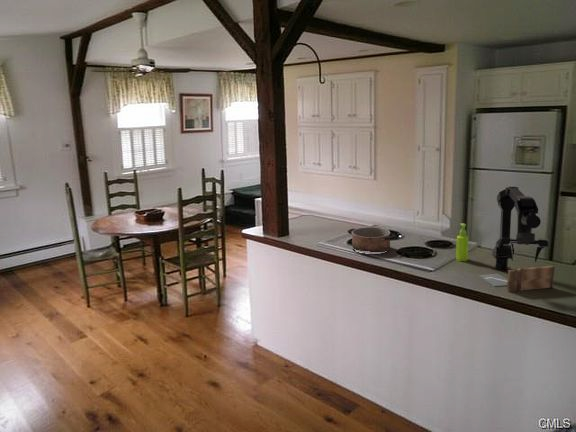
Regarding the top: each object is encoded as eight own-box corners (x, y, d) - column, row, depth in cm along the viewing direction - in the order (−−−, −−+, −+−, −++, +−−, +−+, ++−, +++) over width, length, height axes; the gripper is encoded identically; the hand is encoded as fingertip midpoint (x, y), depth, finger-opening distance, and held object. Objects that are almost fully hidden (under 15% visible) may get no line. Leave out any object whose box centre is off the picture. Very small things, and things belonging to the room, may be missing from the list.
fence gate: (522, 290, 206) (524, 268, 203) (520, 288, 207) (522, 267, 205) (553, 287, 207) (555, 266, 205) (551, 286, 209) (553, 265, 206)
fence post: (508, 292, 205) (510, 270, 202) (506, 290, 207) (507, 268, 204) (521, 291, 206) (523, 269, 203) (519, 289, 207) (521, 267, 205)
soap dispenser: (463, 256, 253) (465, 222, 248) (469, 261, 246) (471, 225, 241) (453, 257, 253) (455, 222, 248) (458, 261, 246) (460, 226, 241)
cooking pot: (402, 248, 272) (402, 231, 270) (384, 258, 256) (385, 240, 253) (358, 240, 291) (358, 224, 288) (339, 250, 274) (339, 232, 272)
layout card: (478, 275, 225) (478, 275, 225) (497, 274, 226) (497, 273, 226) (494, 286, 212) (494, 285, 211) (514, 285, 213) (514, 284, 212)
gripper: (499, 227, 198) (498, 262, 200) (548, 228, 189) (547, 265, 190) (501, 224, 208) (501, 258, 209) (548, 226, 199) (547, 261, 200)
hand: (523, 261), depth 202 cm, fingers open, 9 cm apart
